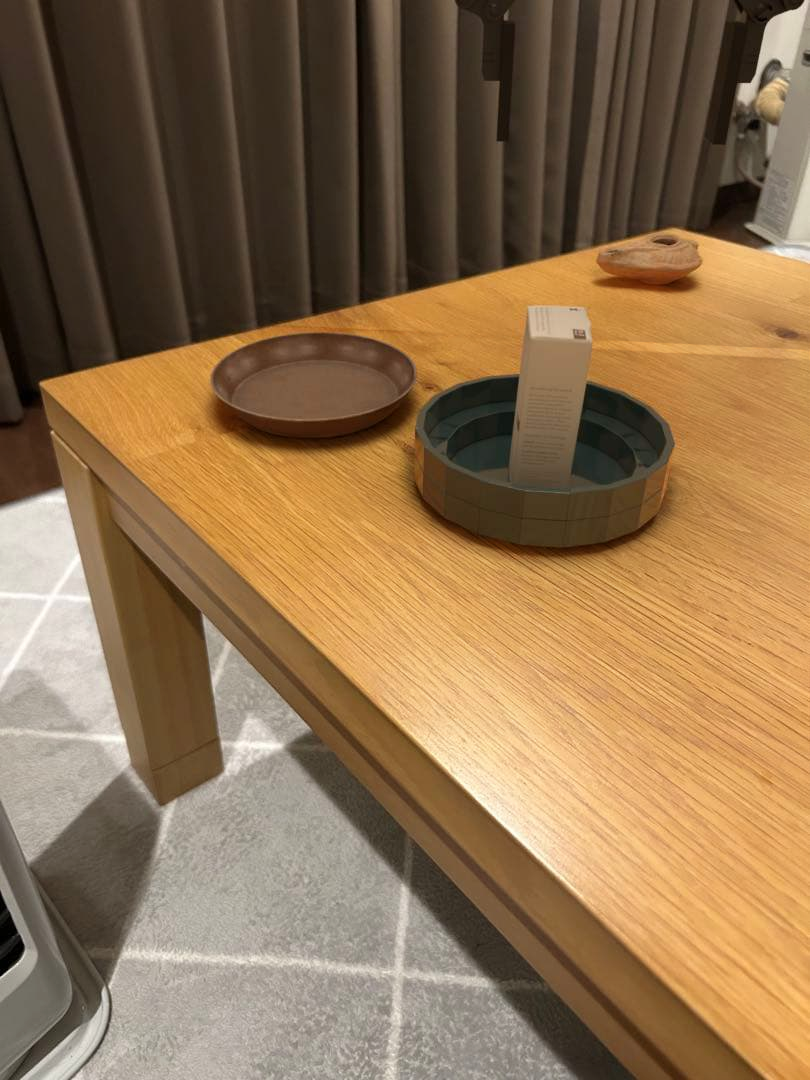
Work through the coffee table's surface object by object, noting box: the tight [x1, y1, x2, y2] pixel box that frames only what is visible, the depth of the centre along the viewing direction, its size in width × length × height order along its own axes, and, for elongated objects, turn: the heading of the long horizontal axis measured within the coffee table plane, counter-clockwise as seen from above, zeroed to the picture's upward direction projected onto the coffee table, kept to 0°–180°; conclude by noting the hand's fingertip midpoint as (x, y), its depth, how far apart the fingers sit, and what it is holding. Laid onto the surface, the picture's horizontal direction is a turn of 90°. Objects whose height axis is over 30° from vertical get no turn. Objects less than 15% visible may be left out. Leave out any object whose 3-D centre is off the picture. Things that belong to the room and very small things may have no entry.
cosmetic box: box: [509, 304, 594, 489], centre depth 61 cm, size 6×4×12 cm
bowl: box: [413, 373, 676, 548], centre depth 63 cm, size 18×18×5 cm
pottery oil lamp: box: [595, 231, 704, 286], centre depth 103 cm, size 9×12×7 cm
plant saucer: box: [209, 331, 418, 439], centre depth 75 cm, size 18×18×3 cm
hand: (607, 139), depth 56 cm, fingers open, 13 cm apart
